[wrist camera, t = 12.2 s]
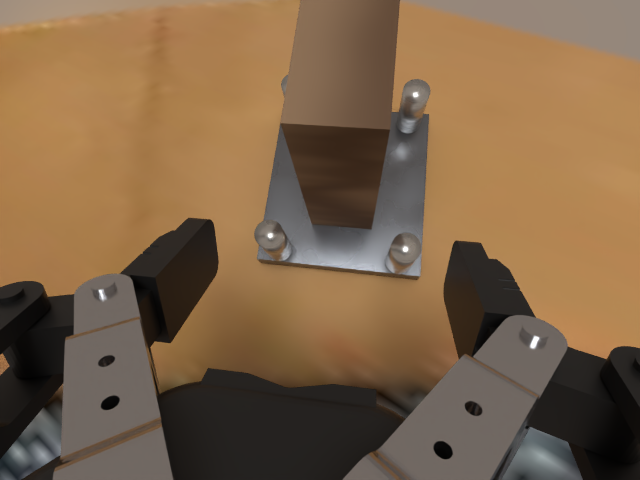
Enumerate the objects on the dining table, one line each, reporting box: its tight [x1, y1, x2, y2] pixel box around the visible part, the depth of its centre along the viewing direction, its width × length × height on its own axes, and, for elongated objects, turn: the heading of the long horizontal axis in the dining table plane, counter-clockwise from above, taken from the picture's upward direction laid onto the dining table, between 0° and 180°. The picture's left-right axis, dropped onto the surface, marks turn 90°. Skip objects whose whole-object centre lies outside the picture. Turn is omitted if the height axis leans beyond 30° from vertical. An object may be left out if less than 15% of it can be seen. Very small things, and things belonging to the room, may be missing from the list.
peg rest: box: [254, 75, 430, 280], centre depth 21 cm, size 9×10×4 cm
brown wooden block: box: [280, 0, 400, 229], centre depth 17 cm, size 3×5×10 cm, turn 173°
